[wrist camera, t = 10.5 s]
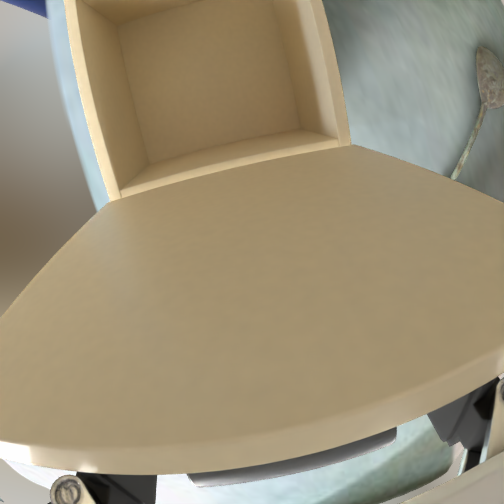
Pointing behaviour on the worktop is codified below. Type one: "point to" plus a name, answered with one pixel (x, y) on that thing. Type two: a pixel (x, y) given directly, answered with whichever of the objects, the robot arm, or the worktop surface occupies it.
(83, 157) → the worktop surface
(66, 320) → the lid
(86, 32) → the cream open box
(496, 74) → the soupspoon
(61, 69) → the worktop surface
